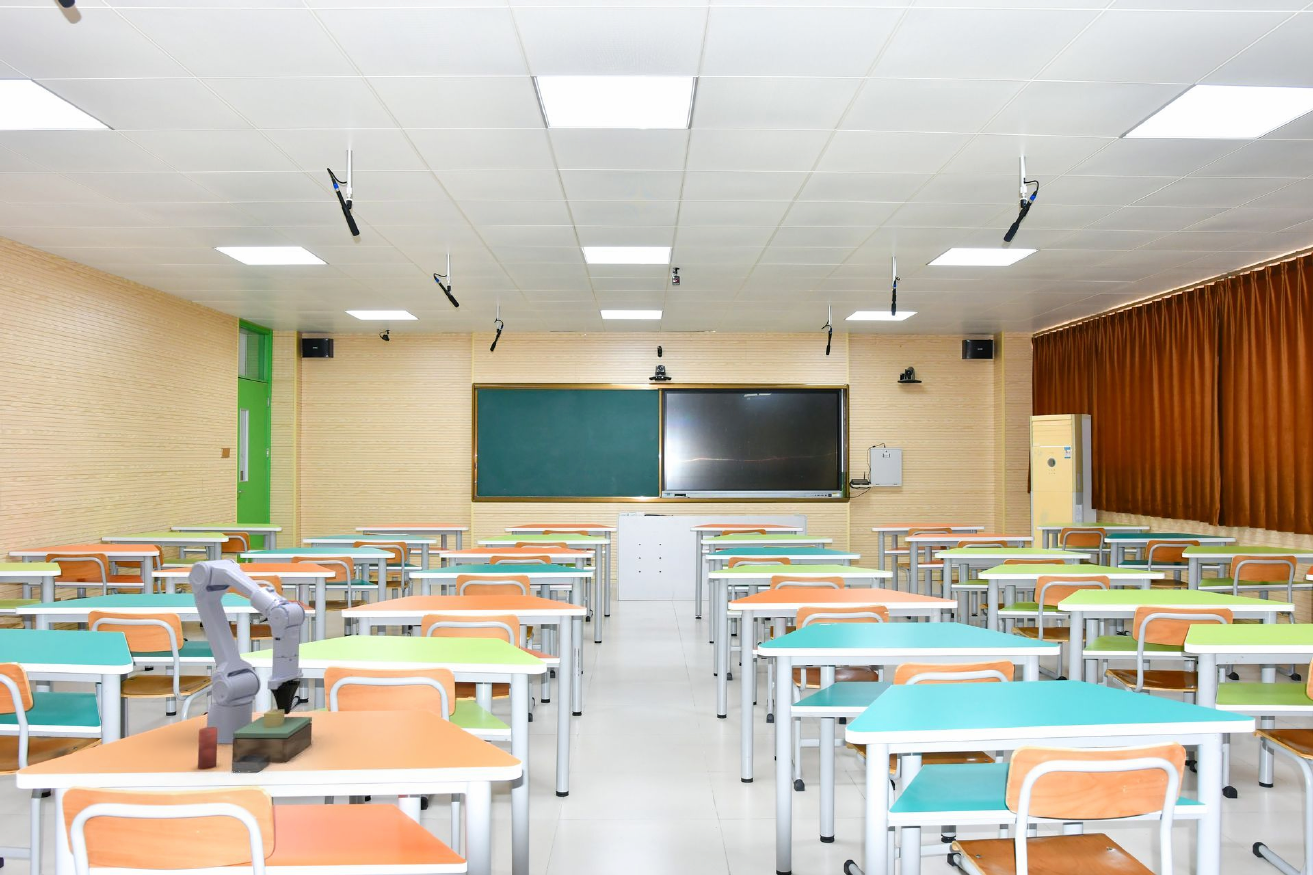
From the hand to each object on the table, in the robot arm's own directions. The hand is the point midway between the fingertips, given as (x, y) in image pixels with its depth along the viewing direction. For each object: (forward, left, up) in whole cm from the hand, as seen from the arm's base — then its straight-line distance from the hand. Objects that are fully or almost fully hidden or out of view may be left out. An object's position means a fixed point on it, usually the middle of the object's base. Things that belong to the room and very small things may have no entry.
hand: (284, 713), depth 208 cm
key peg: (-10, -16, -7) cm, 20 cm away
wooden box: (0, -6, -7) cm, 9 cm away
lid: (0, -5, -2) cm, 6 cm away
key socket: (0, -17, -7) cm, 18 cm away
